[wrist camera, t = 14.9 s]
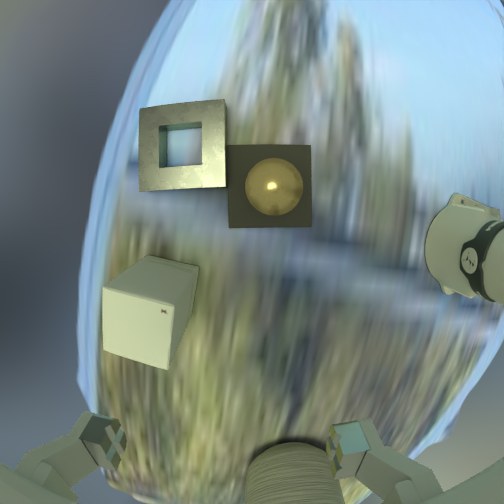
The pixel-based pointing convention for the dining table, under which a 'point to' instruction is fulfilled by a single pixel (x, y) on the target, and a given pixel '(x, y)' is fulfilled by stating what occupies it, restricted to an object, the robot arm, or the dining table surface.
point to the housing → (176, 118)
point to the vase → (292, 476)
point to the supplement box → (149, 310)
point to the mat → (237, 171)
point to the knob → (274, 186)
